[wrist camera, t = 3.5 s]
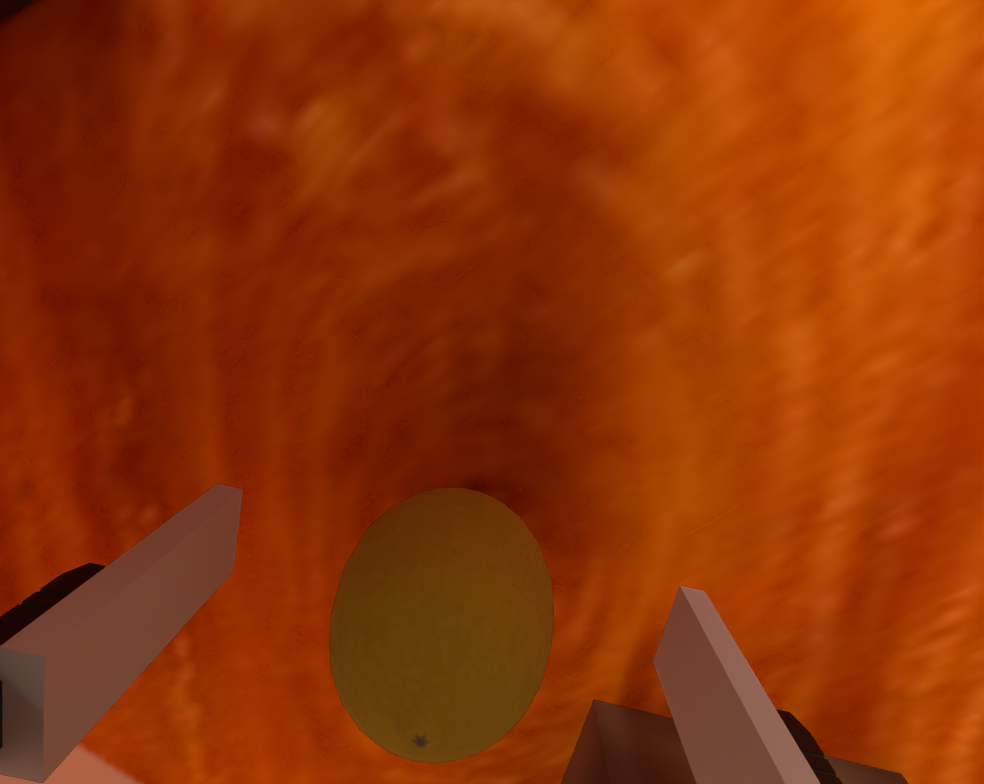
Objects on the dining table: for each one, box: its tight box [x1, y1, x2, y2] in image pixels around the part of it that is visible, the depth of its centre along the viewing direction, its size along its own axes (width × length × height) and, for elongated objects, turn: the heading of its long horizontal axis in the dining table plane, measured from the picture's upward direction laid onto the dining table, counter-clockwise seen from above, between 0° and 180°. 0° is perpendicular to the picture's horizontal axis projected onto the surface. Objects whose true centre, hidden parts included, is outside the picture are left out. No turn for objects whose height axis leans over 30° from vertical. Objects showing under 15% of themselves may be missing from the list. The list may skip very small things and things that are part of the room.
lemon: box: [329, 487, 554, 763], centre depth 13 cm, size 6×6×8 cm
